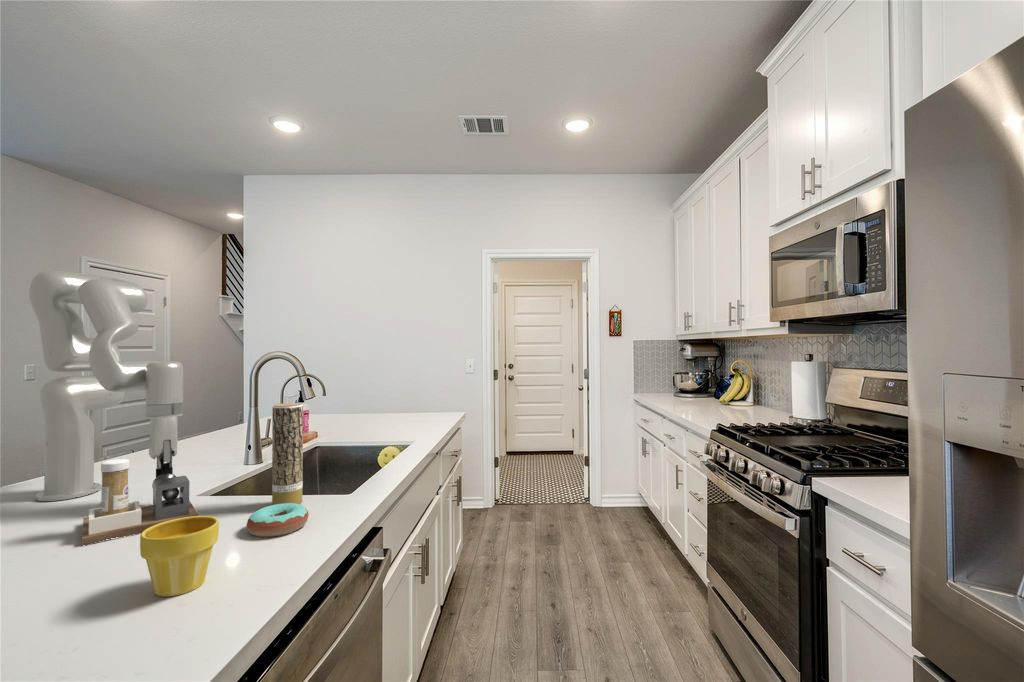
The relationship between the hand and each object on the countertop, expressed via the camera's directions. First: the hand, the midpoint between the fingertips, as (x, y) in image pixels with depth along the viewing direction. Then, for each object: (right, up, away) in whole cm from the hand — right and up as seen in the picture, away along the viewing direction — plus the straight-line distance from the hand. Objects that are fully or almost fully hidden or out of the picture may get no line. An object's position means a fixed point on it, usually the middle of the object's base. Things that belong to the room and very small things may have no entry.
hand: (164, 483), depth 112 cm
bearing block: (+10, -4, -10) cm, 15 cm away
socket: (+2, -3, -16) cm, 17 cm away
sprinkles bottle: (+2, -4, -16) cm, 17 cm away
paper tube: (+31, -5, -1) cm, 32 cm away
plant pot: (+33, -5, -39) cm, 51 cm away
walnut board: (+4, -5, -12) cm, 13 cm away
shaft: (+6, -2, -6) cm, 9 cm away
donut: (+36, -5, -15) cm, 40 cm away
